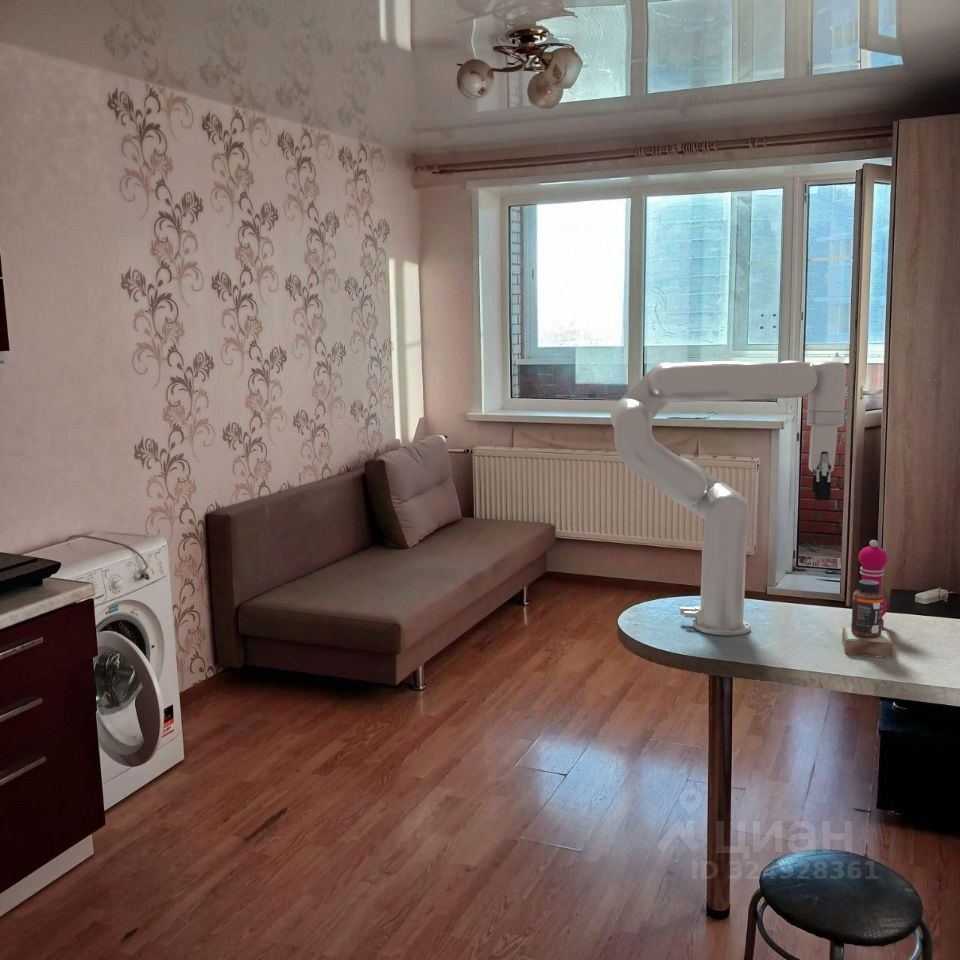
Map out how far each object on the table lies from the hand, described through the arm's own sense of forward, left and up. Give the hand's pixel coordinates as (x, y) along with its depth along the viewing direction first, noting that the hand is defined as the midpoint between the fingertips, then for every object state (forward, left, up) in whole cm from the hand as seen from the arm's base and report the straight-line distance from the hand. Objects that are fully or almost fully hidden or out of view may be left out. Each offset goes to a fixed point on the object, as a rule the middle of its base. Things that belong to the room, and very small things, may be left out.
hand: (820, 496), depth 212 cm
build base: (+10, -11, -30) cm, 34 cm away
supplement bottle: (+10, -11, -27) cm, 31 cm away
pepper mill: (+12, +6, -31) cm, 33 cm away
